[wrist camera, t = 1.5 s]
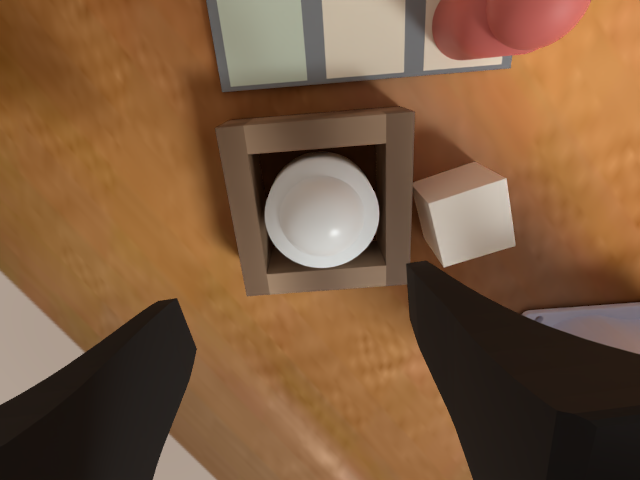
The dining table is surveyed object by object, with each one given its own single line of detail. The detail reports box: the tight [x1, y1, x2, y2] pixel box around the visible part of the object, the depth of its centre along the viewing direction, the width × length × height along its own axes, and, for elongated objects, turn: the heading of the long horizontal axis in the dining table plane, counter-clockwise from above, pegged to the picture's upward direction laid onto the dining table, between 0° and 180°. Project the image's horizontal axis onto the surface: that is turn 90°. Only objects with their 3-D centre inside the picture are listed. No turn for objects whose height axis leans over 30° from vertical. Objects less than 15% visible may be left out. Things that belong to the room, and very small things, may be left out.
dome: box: [265, 151, 379, 268], centre depth 17 cm, size 5×5×4 cm
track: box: [206, 0, 512, 92], centre depth 16 cm, size 14×4×1 cm, turn 94°
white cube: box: [412, 162, 516, 267], centre depth 18 cm, size 4×4×4 cm
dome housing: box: [215, 106, 415, 296], centre depth 18 cm, size 8×8×3 cm
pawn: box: [432, 0, 591, 60], centre depth 13 cm, size 3×3×7 cm
